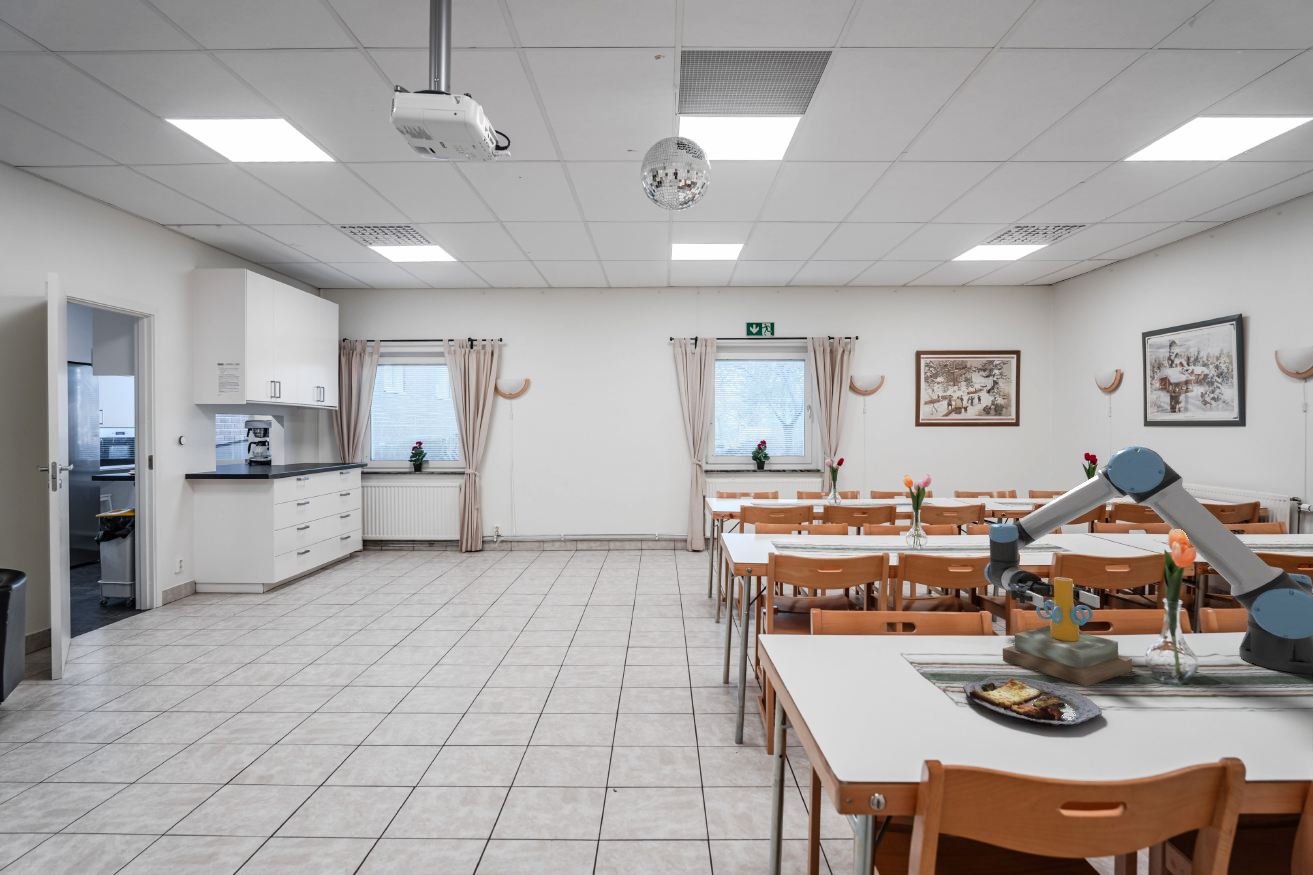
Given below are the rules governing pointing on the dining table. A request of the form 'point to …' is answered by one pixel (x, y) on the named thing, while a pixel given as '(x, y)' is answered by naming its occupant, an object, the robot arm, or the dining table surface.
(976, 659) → the dining table surface
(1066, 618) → the upright yellow plank
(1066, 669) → the plinth
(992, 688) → the food plate
